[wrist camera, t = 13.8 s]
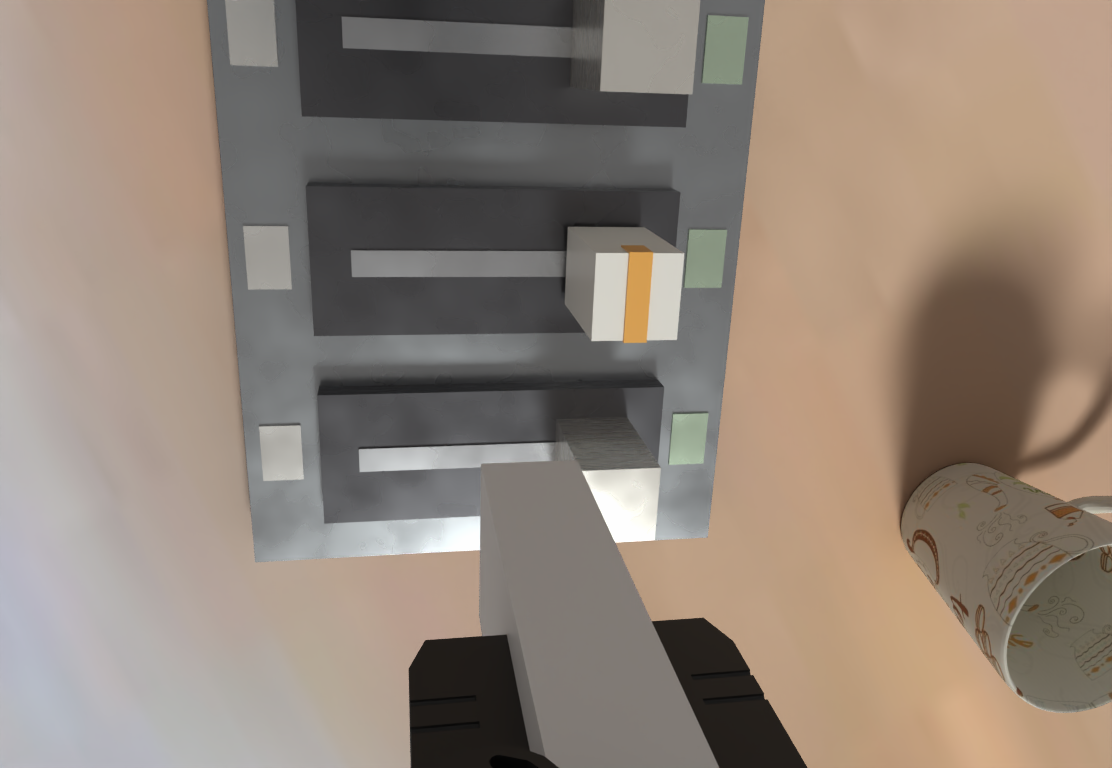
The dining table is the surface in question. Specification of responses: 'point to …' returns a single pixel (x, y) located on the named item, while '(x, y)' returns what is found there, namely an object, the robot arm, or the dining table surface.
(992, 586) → the mug
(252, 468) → the panel
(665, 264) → the block
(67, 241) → the dining table surface
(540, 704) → the robot arm
